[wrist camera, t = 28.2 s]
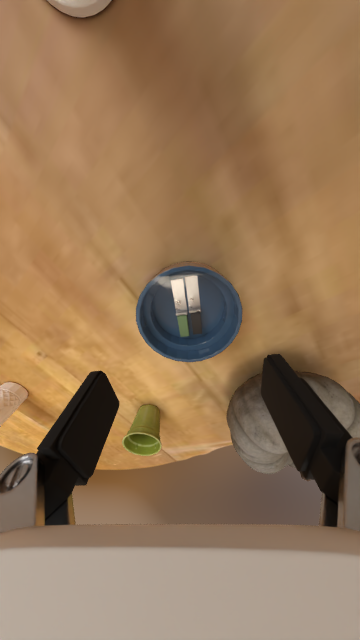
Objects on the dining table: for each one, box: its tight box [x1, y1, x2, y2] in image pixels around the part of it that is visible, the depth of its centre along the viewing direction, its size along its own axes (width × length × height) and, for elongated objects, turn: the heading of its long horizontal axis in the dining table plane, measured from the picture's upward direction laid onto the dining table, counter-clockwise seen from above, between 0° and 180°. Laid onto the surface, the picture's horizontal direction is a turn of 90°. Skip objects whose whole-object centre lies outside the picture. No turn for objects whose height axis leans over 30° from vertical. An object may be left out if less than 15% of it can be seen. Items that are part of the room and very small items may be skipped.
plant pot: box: [122, 405, 161, 456], centre depth 42 cm, size 9×9×9 cm
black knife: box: [185, 276, 202, 335], centre depth 30 cm, size 11×2×2 cm, turn 8°
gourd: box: [227, 371, 360, 481], centre depth 34 cm, size 25×25×17 cm
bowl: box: [136, 261, 242, 362], centre depth 29 cm, size 17×17×6 cm
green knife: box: [171, 279, 189, 337], centre depth 31 cm, size 11×2×2 cm, turn 8°
